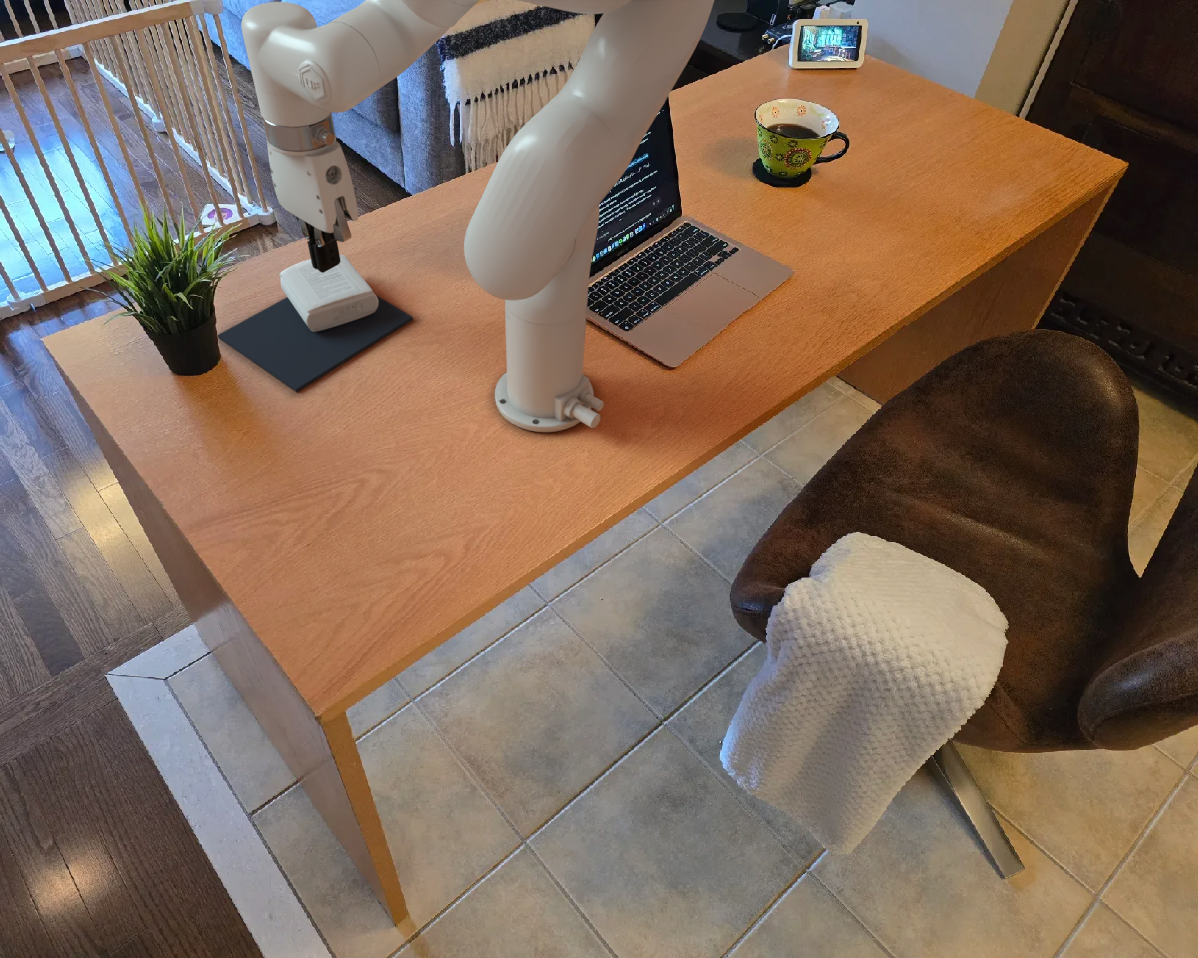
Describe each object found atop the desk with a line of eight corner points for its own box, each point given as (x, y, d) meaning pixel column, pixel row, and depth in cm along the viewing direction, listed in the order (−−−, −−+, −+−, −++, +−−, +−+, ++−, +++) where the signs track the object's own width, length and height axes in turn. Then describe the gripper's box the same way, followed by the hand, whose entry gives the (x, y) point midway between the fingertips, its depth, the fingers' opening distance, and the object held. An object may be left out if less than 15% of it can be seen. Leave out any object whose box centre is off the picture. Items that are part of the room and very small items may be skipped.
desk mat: (413, 320, 121) (412, 316, 121) (296, 392, 110) (295, 389, 110) (336, 273, 127) (335, 270, 127) (218, 338, 116) (217, 334, 116)
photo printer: (382, 313, 121) (345, 269, 127) (377, 288, 118) (340, 243, 124) (310, 337, 117) (276, 290, 123) (304, 311, 113) (269, 264, 120)
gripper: (370, 139, 97) (389, 277, 111) (283, 95, 103) (311, 231, 116) (317, 163, 93) (343, 303, 107) (229, 116, 98) (265, 255, 112)
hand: (327, 265), depth 111 cm, fingers closed
